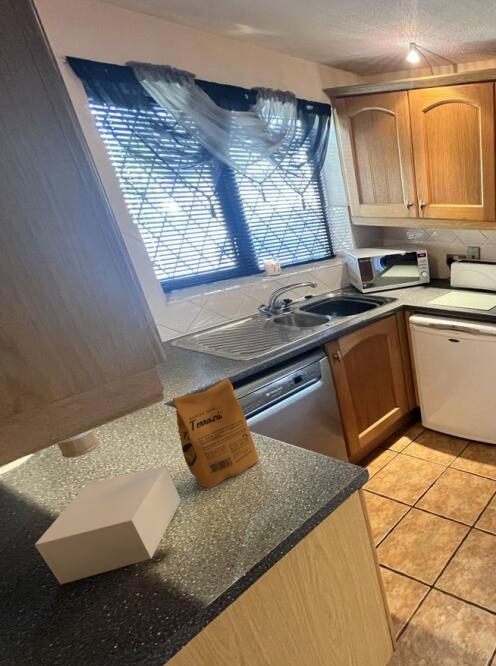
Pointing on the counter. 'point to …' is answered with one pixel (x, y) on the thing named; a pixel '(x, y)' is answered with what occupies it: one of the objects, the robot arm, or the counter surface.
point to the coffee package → (214, 434)
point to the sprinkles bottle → (79, 445)
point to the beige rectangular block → (110, 525)
